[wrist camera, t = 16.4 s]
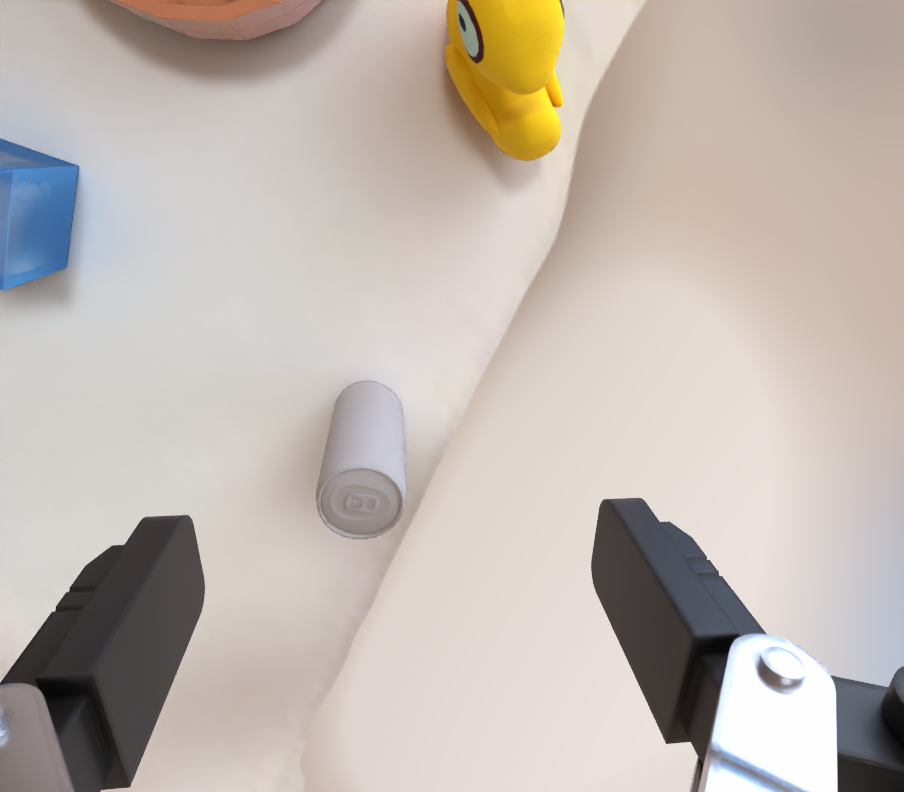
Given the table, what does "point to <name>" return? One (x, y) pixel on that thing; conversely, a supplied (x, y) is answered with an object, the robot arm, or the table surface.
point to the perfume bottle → (33, 213)
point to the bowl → (222, 16)
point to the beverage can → (363, 463)
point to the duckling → (509, 69)
